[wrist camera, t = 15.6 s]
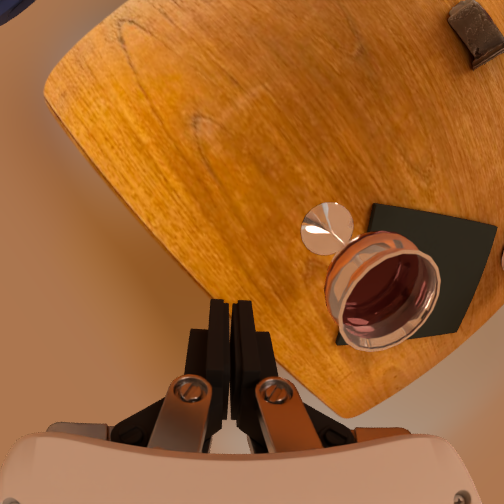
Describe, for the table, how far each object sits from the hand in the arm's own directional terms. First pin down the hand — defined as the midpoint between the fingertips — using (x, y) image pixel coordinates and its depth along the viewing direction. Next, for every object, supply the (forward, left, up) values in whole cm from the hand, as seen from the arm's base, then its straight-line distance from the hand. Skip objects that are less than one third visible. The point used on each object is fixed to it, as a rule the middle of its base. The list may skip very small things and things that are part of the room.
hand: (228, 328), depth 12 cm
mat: (+23, -5, -14) cm, 27 cm away
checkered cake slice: (+25, +26, -14) cm, 39 cm away
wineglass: (+9, 0, -14) cm, 16 cm away
